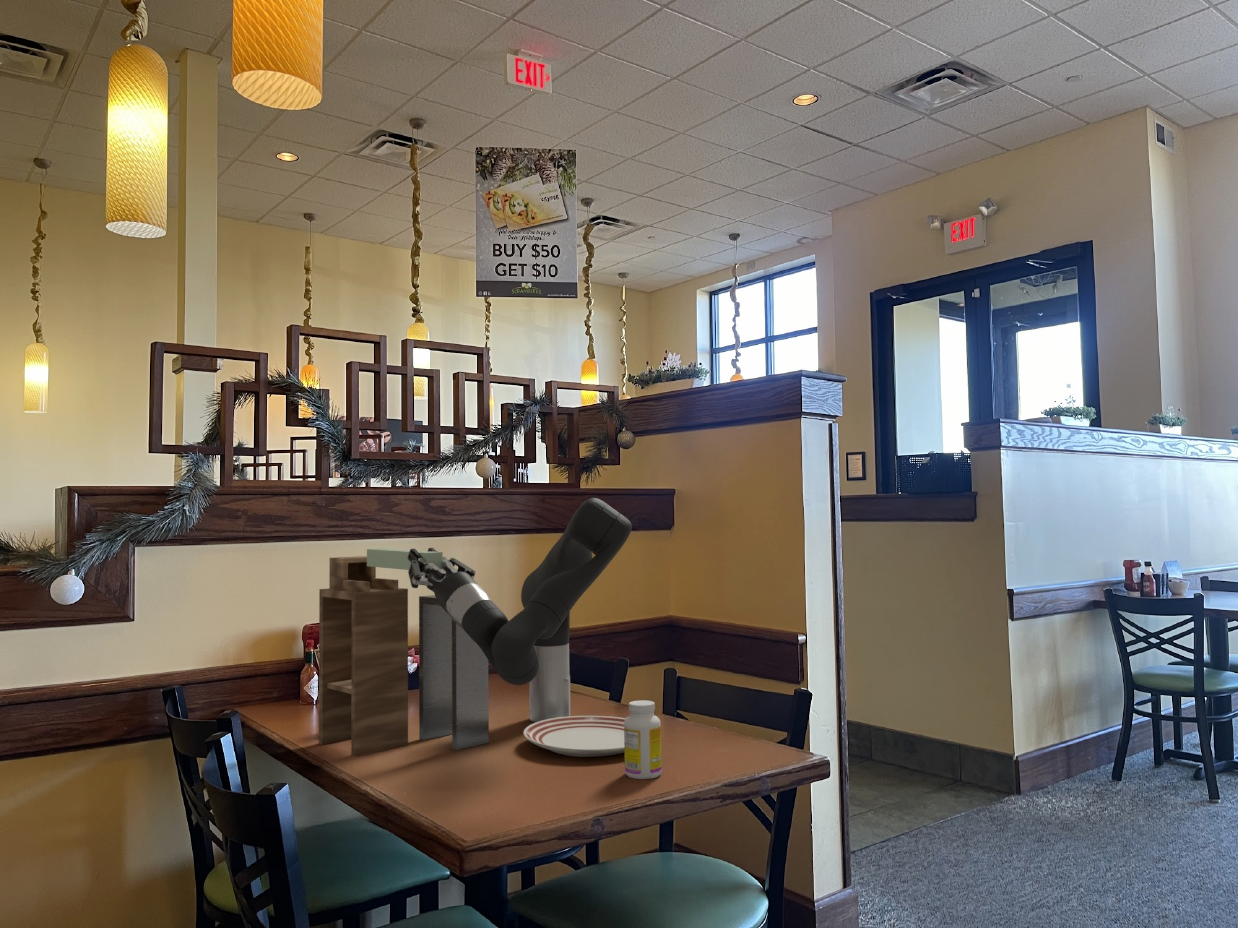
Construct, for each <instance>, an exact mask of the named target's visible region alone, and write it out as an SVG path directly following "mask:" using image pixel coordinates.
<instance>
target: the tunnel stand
mask: <svg viewBox="0 0 1238 928" xmlns="http://www.w3.org/2000/svg"><path fill="white" fill-rule="evenodd" d="M328 563H329V564H328V565H329V569H328V570H329V571H328V572H329V577H328V578H329V581H328V582H329V584H328V585H329V588H319V589H318V590H319V592H318V593H319V595H318V596H319V598H318V599H319V600H318V601H319V605H318V606H319V607H318V609H319V618H318V619H319V621H318V623H319V624H318V625H319V628H318V630H319V631H318V633H319V635H318V638H319V639H318V643H319V644H318V651H319V652H318V655H319V656H318V662H319V663H318V684H319V685H318V744H319V745H321V746H322V745H326V744H331V743H332V744H333V743H336V742H343V741H346V740H351V744H350V745H351V746H350V747H351V748H350V750H351V752H350V753H351V756H354V757H357V756H362V755H367V754H371V753H372V754H373V753H376V752H381V751H384V750H385V751H386V750H390V749H394V748H399V747H403V746H408V745H409V588H403V587H399V579H393V578H392V579H391V578H379V577H377V575H376V574H377V572H376V571H377V567H369V566H367V555H365V556H364V555H362V556H361V555H359V556H358V555H357V556H338V557H329V562H328Z"/></svg>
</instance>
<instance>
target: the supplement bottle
mask: <svg viewBox="0 0 1238 928" xmlns="http://www.w3.org/2000/svg"><path fill="white" fill-rule="evenodd" d="M655 709H656V704H655V702H654V701H652V700H641V699H640V700H633V701H630V702H628V710H629V713H630V714H629V716H627V717H625V718H626V719H625V721H624V749H625V752H624V772H625V775H626V776H627V777H628V778H631V779H634V780H650V779H656V778H658V777H660V776H661V774H662V771H663V770H662V766H663V765H662V730H661V728H662V726H661V725H662V724H661V719H660V718H659V717H658V716H657V715H655V713H654V712H655Z"/></svg>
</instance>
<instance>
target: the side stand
mask: <svg viewBox="0 0 1238 928" xmlns="http://www.w3.org/2000/svg"><path fill="white" fill-rule="evenodd" d="M418 667H419V669H418V676H419V677H418V685H419V686H418V687H419V689H418V699H419V700H418V702H419V703H418V706H419V707H418V708H419V713H418V714H419V715H418V719H419V720H418V722H419V723H418V725H419V727H418V728H419V730H418V731H419V732H418V735H419V737H418V739H419V741H427V740H431V739H436V738H441V737H445V736H449V735H451V737H452V743H451V744H452V750H454V751H460V750H465V749H468V748H473V747H476V746H482V745H485V744H489V742H490V734H489V733H490V732H489V731H490V727H489V726H490V724H489V723H490V722H489V721H490V720H489V716H490V714H489V706H490V705H489V698H490V697H489V696H490V695H489V660H488V659H487V657H486V656H485V654H484V653H483V651H482V650H481V648H480V647H479V646H478V645H477V643H476V642H474V641H473V640H472V639H471V637H470V636H469V635H468V634H467V633H466V632H465V631H464V630H463V629H462V628H461V627H460V626H459V625H457V624H456V623H455V621H454V620H453V619H452V618H451V617H450V616H449V615H448V614H447V612H446V611H445V610H444V609H443V608H442V607H441V606H440V605H439V603H438V602H437V600H436V597H435V594H432V595H431V594H429V595H420V596H418Z"/></svg>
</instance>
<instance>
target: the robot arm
mask: <svg viewBox="0 0 1238 928" xmlns="http://www.w3.org/2000/svg"><path fill="white" fill-rule="evenodd" d="M632 527H633V525H632V523H631V520H630V519H628V518H627V517H626V516H624V515H623V514H621V513H620V512H618V510H616V509H614V508H613V507H612V506H610V505H609V504H608V503H606V502H605V501H604V500H601V499H600V498H597V497H590V498H588V499H586V500H584V502H582V503H581V504H580V506H578V508H577V509H576V510H575V512H574V513H573V515H572V516H571V519H570V520H569V522H568V524H567V526H566V527H565V529H564V531H563V533H562V534H561V536H560V538H558V540H557V541H556V542H555V544H553V546H552V547H551V549H550V550H549V551H548V553H547V554H546V556H545V558H544V559H543V561H542V562H541V563H540V564H539V566H537V568H536V569H534V570H533V571H532V572H531V573H529V575H527V577H526V578H524V581H523V584H522V587H521V591H520V601H521V604H522V607H523V609H522V610H520V612H518V613H517V614H515V615H514V616H513V617H512V618H510V620H509V619H508V617H507V616H506V614H505V613H504V612H503V611H502V610H501V609H500V608H499V607H498V606H497V605H496V603H494V602H493V600H492V599H491V597H490V596H489V594H488V593H487V591H485V590H484V589H483V588H482V587H481V586H480V585H479V584H478V583H477V581H475V579H474V578H475V576H476V572H477V571H476V570H474V569H473V568H471V567H469V566H468V565H466V563H463V562H461V561H460V560H458V559H456V558H455V557H450V558H449V559H448V558H447V557H446V556H443V560H442V564H443V567H442V568H439V567H437V566H436V565H435V564H433V563H432V562H431V563H428V562H427V561H426V560H424V559H423V557H422V556H421V555H420V554H419V553H418V551H419V550H417V549H416V548H410V549H409V550H410V551H409V555H408V560H409V561H410V562H411V566H410V569H409V570H407V572H408V577H409V578H408V579H409V581H410V586H411V587H412V588H413V589H418V588H419V586H423V587H424V586H425V587H426V588H427V589H428V590H430V591H432V592H433V595H435V597H436V600H437V602H438V603H439V605H440V606H441V607H442V608H443V609H444V610H445V611H446V612H447V614H448V615H449V616H450V617H451V618H452V619H453V620H454V621H455V623H456V624H457V625H459V626H460V627H461V628H462V629H463V630H464V631H465V632H466V633H467V634H468V635H469V636H470V637H471V639H472V640H473V641H474V642H476V643H477V645H478V646H479V647H480V648H481V650H482V651H483V653H484V654H485V656H486V657H487V659H488V663H489V664H490V665H491V667H492V668H493V669H494V670H495V672H496V674H497V675H498V676H499V677H500V678H501V679H502V680H503V681H504V682H506V683H508V684H511V685H513V686H524V685H527V684H529V686H528V687H529V689H528V690H529V692H528V693H529V712H528V713H529V720H530V721H531V722H533V723H536V722H539V721H542V720H546V719H551V718H558V717H568V716H571V674H570V630H571V629H570V624H571V621H570V619H571V610H572V609H573V607H574V606H575V605H576V603H577V602H578V601H579V599H581V597H582V595H584V594H585V592H587V590H588V589H589V588H590V587H591V586H592V585H593V583H594V582H595V581H596V580H597V579H598V578H599V577H600V575H601V574H602V573H603V572H604V571H605V569H606V568H607V567H608V565H610V563H611V562H612V561H613V559H614V558H616V555H617V554H618V553H619V552H620V550H621V549H622V548H623V546H624V545H625V543H626V542H627V540H628V538H629V537H630V534H631V532H632ZM427 551H431V552H439V551H437V550H436V549H435V548H434V547H428V549H427ZM593 555H594V556H593ZM423 566H424V570H423V569H422V568H423ZM455 566H456V567H457V568H455Z"/></svg>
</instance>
